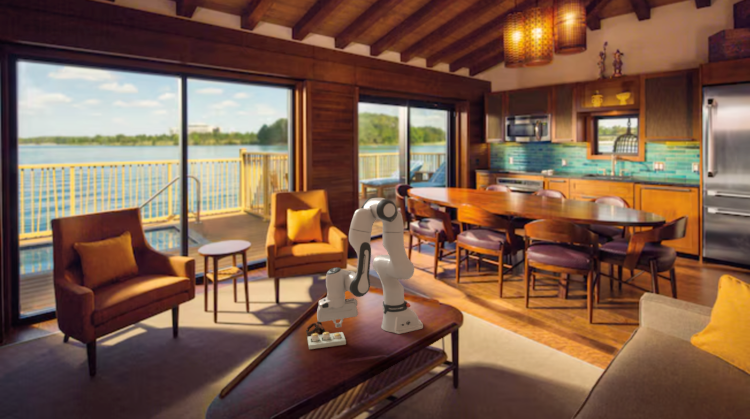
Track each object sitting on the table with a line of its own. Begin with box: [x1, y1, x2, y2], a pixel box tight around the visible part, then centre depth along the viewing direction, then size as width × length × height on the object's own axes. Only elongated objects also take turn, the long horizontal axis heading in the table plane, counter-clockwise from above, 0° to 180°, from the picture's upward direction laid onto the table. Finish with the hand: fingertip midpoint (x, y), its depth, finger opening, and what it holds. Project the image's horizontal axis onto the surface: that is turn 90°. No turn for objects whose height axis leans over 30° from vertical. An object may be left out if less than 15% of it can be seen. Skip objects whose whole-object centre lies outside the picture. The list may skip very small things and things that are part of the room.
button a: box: [334, 332, 341, 339], centre depth 210 cm, size 4×4×3 cm
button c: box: [311, 332, 320, 342], centre depth 207 cm, size 4×4×3 cm
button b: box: [321, 331, 331, 341], centre depth 208 cm, size 4×4×3 cm
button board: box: [306, 331, 347, 350], centre depth 209 cm, size 18×10×3 cm, turn 103°
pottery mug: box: [305, 320, 327, 337], centre depth 219 cm, size 12×10×8 cm
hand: (338, 326), depth 210 cm, fingers closed
